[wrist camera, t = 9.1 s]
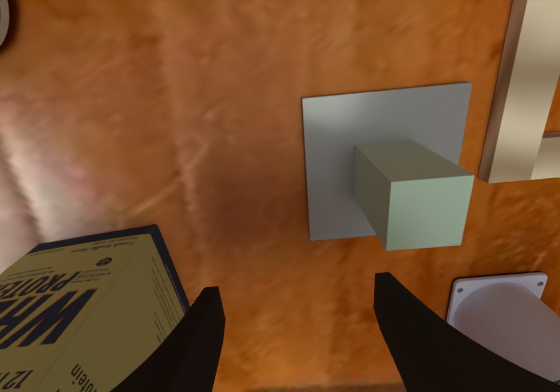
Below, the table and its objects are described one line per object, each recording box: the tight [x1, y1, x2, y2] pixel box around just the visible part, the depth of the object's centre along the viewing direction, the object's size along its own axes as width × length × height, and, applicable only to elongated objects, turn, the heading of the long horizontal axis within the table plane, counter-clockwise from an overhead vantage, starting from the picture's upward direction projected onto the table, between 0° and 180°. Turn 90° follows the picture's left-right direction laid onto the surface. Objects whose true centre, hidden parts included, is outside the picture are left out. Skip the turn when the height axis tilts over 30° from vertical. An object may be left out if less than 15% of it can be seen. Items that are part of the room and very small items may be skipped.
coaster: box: [302, 82, 472, 241], centre depth 22 cm, size 11×11×1 cm
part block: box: [354, 140, 475, 251], centre depth 18 cm, size 4×4×7 cm
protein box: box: [0, 225, 190, 392], centre depth 20 cm, size 10×16×16 cm
